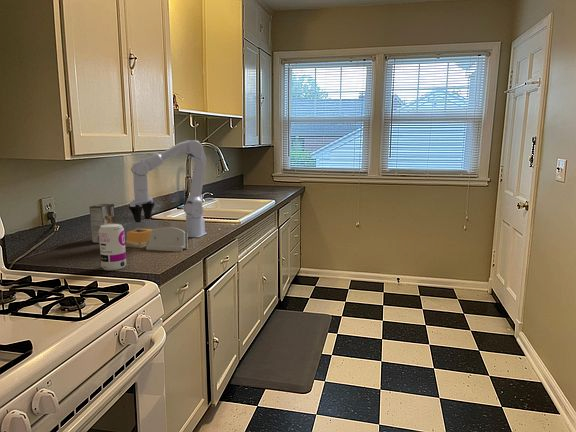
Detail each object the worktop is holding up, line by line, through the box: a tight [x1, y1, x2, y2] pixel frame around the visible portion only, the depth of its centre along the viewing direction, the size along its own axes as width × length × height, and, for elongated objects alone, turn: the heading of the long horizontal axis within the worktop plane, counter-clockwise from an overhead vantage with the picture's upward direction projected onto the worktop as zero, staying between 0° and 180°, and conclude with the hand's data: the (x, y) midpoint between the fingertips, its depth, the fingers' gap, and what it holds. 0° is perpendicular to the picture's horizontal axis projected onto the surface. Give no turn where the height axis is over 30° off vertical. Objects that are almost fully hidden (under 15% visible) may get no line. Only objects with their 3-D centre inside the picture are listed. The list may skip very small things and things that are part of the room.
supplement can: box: [99, 223, 127, 271], centre depth 153 cm, size 8×8×15 cm
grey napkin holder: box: [145, 226, 189, 253], centre depth 181 cm, size 17×5×10 cm, turn 76°
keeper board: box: [125, 228, 149, 249], centre depth 190 cm, size 14×10×6 cm
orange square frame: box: [126, 228, 154, 242], centre depth 191 cm, size 8×8×4 cm
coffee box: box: [89, 203, 117, 244], centre depth 196 cm, size 9×6×16 cm
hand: (142, 220), depth 192 cm, fingers open, 7 cm apart
